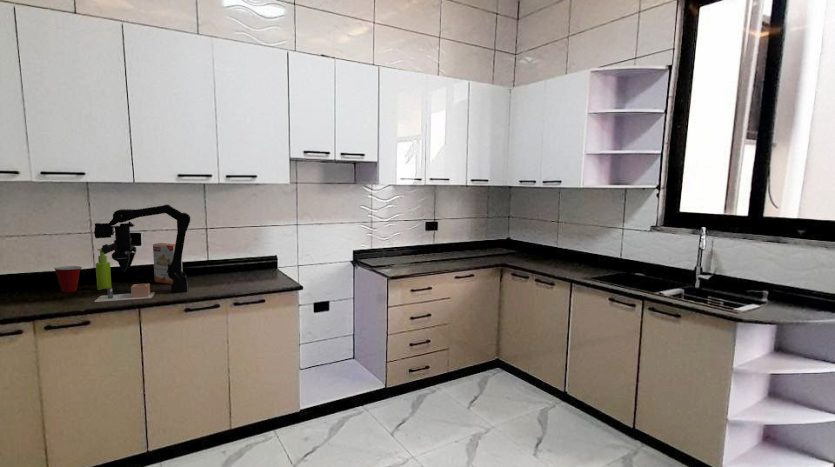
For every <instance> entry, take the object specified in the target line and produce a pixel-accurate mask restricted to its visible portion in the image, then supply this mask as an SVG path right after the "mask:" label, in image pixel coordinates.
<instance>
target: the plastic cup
mask: <svg viewBox="0 0 835 467" xmlns="http://www.w3.org/2000/svg"><path fill="white" fill-rule="evenodd" d="M82 268H83V266H80V265H66V266H65V265H64V266H56V267H55V266H54V267H53V269H54V271H55V274H56V277H57V280H58V284H59V286H60V287H59V288H60V290H61V292H62V293H71V292H75V291H77V290H78V284H79V279H80V272H81V270H82Z"/></svg>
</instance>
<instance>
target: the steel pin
mask: <svg viewBox="0 0 835 467" xmlns="http://www.w3.org/2000/svg"><path fill="white" fill-rule="evenodd" d="M106 291H107V295H108V298H113V295H114V289H113V287H111V288H107V289H106Z"/></svg>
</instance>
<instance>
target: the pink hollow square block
mask: <svg viewBox="0 0 835 467" xmlns="http://www.w3.org/2000/svg"><path fill="white" fill-rule="evenodd" d="M150 292H151V283H149V282H148V283H137V284H135V283H134V284H132V285H131V287H130V294H131V296H132V298H137V297H148V296H149V295H150Z"/></svg>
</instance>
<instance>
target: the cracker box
mask: <svg viewBox="0 0 835 467" xmlns="http://www.w3.org/2000/svg"><path fill="white" fill-rule="evenodd" d="M175 244H176V243H167V242H158V243H153V244H152V254H153V270H154V271H153V272H154V282H155V283H162V284H166V285H167V284H168V285H172V282H173V280H172V279H170V278H169V277H168V273H166V272H167V269H168V262H170V263H172V260H173V256H174V250H175ZM181 265H182V266H183V257H182V258H181ZM183 268H184V267H182V272H183V273H184V271H183Z"/></svg>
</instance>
